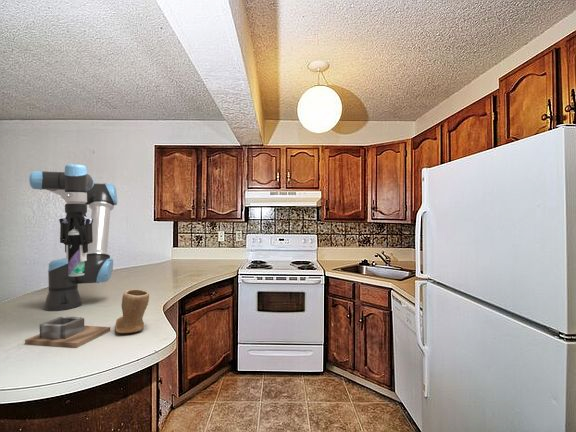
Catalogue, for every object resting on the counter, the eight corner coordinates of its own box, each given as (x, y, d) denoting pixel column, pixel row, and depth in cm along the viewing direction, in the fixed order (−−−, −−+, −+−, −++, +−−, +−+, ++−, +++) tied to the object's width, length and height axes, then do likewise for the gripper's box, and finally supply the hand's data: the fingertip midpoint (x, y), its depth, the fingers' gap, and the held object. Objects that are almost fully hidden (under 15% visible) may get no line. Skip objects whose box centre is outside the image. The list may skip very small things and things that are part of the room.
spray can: (67, 277, 130) (67, 226, 130) (69, 274, 135) (68, 225, 134) (83, 275, 132) (83, 225, 132) (85, 273, 137) (84, 225, 137)
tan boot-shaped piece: (149, 332, 123) (149, 292, 123) (113, 337, 118) (113, 295, 118) (148, 321, 137) (148, 284, 137) (116, 325, 132) (116, 287, 132)
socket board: (24, 344, 113) (24, 326, 113) (64, 328, 128) (64, 312, 128) (76, 347, 109) (76, 329, 109) (110, 331, 125) (110, 315, 125)
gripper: (48, 203, 131) (48, 261, 131) (89, 202, 128) (89, 262, 128) (63, 203, 138) (64, 259, 139) (103, 203, 135) (103, 260, 136)
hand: (76, 260), depth 133 cm, fingers closed on spray can, 5 cm apart
